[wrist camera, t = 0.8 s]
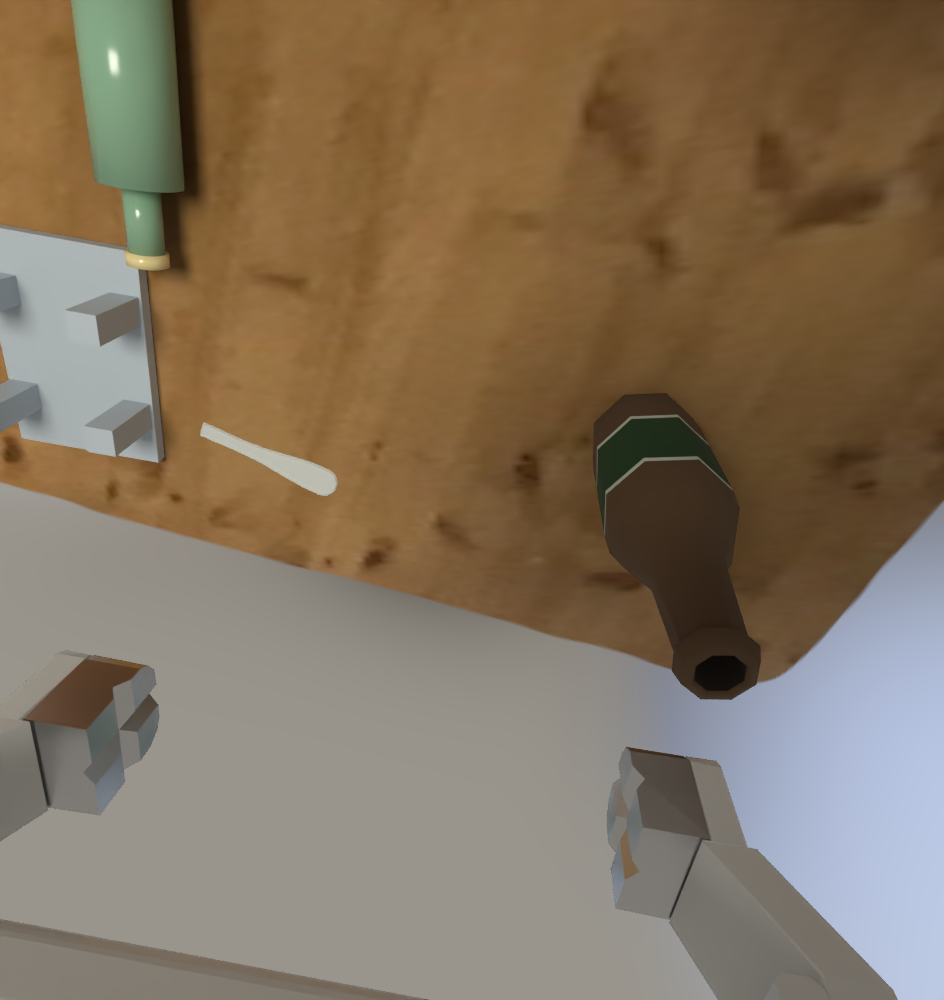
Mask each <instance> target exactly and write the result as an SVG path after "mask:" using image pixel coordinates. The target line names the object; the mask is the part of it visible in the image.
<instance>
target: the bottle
mask: <svg viewBox="0 0 944 1000" xmlns="http://www.w3.org/2000/svg"><path fill="white" fill-rule="evenodd" d="M70 1H71V8H72V16H73V24H74V32H75V39H76V47H77V55H78V62H79V70H80V78H81V85H82V93H83V101H84V108H85V116H86V124H87V132H88V139H89V147H90V155H91V162H92V170H93V178H94V181H95V182H97V183H100V184H103V185H107V186H111V187H116V188H121V194H122V203H123V211H124V220H125V229H126V238H127V247H128V249H125V250H124V252H125V261H126V265H127V266H129V267H132V268H136V269H142V270H165V269H168V268H170V257H169V253H168V252H166V249H165V237H164V225H163V213H162V201H161V193H172V192H182V191H184V190H185V184H184V169H183V154H182V138H181V123H180V108H179V92H178V77H177V62H176V47H175V31H174V16H173V1H172V0H70Z"/></svg>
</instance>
